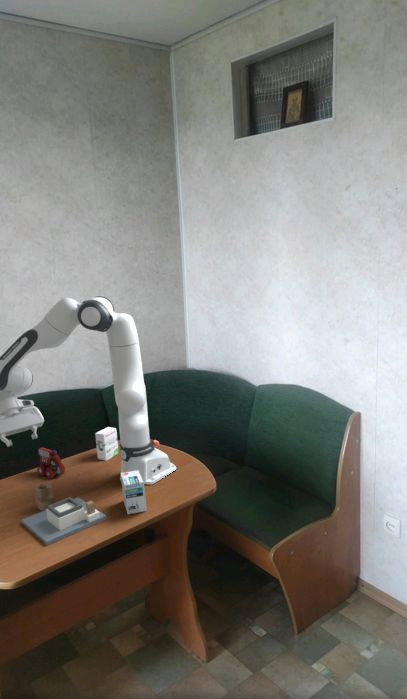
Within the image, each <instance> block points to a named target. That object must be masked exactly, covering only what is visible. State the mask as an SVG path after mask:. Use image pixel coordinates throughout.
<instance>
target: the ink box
mask: <svg viewBox="0 0 407 699" xmlns="http://www.w3.org/2000/svg"><path fill="white" fill-rule="evenodd" d="M94 436H95V444H96V453H97V459H98V460H101V461H108V460H110V459H112V458H113V457H115V456H117V455H119V454H120V453H119V443H118V432H117V428H116V427H110V426H107V427H105V428H104V429H101V430H99V431H97V432H95V434H94Z"/></svg>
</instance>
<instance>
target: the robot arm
mask: <svg viewBox="0 0 407 699" xmlns="http://www.w3.org/2000/svg"><path fill="white" fill-rule="evenodd" d="M79 325H81V326H82V327H83V328H85V329H86V330H89V331H94V332H95V331H96V332H101V333H105V334H106V337H107V342H108V348H109V355H110V362H111V370H112V371H111V372H112V381H113V391H114V400H115V404H116V407H117V408H118V410H117V411H118V428H119V437H120V438H119V440H120V443H119V451H120V453H119V454H120V457H121V467H120V468H121V470H120V477H119V481H120V482H121V483H122V481H121V473H124V472H131V471H137V470H139V472H140V475H141V477H142V479H143V481H144V485H154V484H155V483H157V482H159V481H161V480H162V478H163V479H164V478H166V477H168V476H169V474H170V473H171V474H173V473H174V472H173V471H175V470H176V469H177V466H176V465H175V464H174V463H173V462H171V461H170V458H169V456H168V454H167V453H166V452H163V451H162V450H160V449H158V448H156V447H158V446H159V445H160V441H158V440H156V439H154V440H153V438H152V439H151V437H150V427H149V416H148V414H149V413H148V403H147V391H146V390H147V389H146V385H145V379H144V372H143V370H144V369H143V362H142V355H141V348H140V340H139V335H138V331H137V326H136V323H135V320H134V318H133V317H132V316H131V315H130V314H129V313H125V312H124V313H123V312H122V313H121V312H119V313H118V312H115V307H114V304H113V303H112V301H111V300H110V299H109V298H108V297H105V296H102V295H98V296H93V297H90V298H88V299H86V300H83V301H82V302H78V300H75V299H74V298H71V297H62V298H61V299H60V300H58V301H57V302H56V303H55V304H54V305H53V306H52V307H51V308H50V310H48V312H47V313H46V314H45V316H44V317H43V318H42V319H41V320H40V321H39V322H38V323H37V324H36V325H34V326H33V327H32V328H30V329H29V330H27V331H25V332H24V333H22V334H21V335H20V336H19V337H18V338H17V339H16V340H15V341H14V342H13V343H12V344H11V345H10V346H9V347H8V349H6V350H5V351H4V352H3V353H2V355H0V441H1V442H3V443H5V445H6V446H7V448H8V447H12V446H13V442H12V439H8V438H6V437H9V436H12V435H15V434H18V433H23V432H26V431H29V430H31V431H32V432H33V433H31V435H30V436H31V438H32V440H36V439H38V438H39V436H38V434H37V430H38V428H41V427H42V426H43V424H44V422H45V419H44V415H42V413H41V411H40V409H39V408H38V407H37V406H34V405H35V402H34V400H32V399H18V396H20V395H22V394H24V393H25V392H27V391H28V390H30V388H31V386H32V385H33V380H34V378H33V372H32V371H31V369H29V368H28V367H25V366H21V365H18V364H19V363H21V361H22V360H23V359H24V358H26V356H27V355H29V354H31V353H32V352H36V351H39V350H45V349H54V348H57V347H60V346H61V345H62V344H63V343H65V342H66V341H67V339H68V338H69V337H70V335H71V334H72V333H73V331H74V330H76V328H77V326H79ZM176 471H177V470H176ZM176 471H175V472H176ZM172 472H173V473H172ZM171 474H170V475H171ZM167 475H168V476H167ZM165 476H166V477H165Z"/></svg>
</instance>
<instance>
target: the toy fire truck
mask: <svg viewBox="0 0 407 699" xmlns="http://www.w3.org/2000/svg"><path fill="white" fill-rule="evenodd" d="M37 451H38V455H39V462H40V465H38V466H37V469H36V470H37V471H36V472H37V474H38V475H39V476H41V477H43V476H46V478H47V479H53V478H55V475H56V474H57V475H62V474H63V473H65V470H66V467H65V465H64V464H63V463H62V460H61V458H60V456H59V455H58V453H57V450H56V449H55V450H52V449H49V448H45V447H40V448H38V450H37Z"/></svg>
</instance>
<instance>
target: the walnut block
mask: <svg viewBox="0 0 407 699" xmlns="http://www.w3.org/2000/svg"><path fill="white" fill-rule="evenodd" d="M33 490H34V497H35V504H36V508H37V509H38V510H39V511H40V512H42V511H45V510H46V509H48V506H49V505H51V504H54V503H55V502H54V495H53V494H54V492H53V487H52V486H51V485H49V484H48V483H47V482H45V483H40V484H39V485H37V486H35V487H34V486H33Z"/></svg>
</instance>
